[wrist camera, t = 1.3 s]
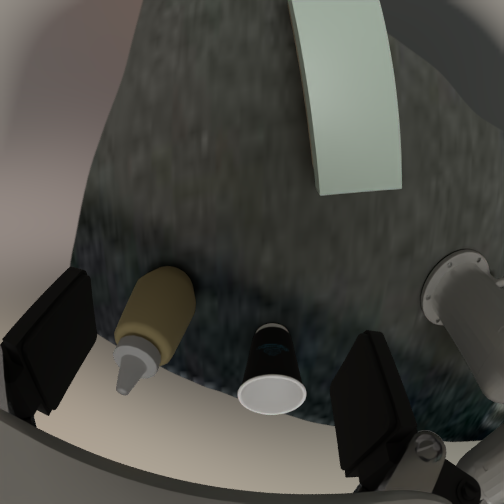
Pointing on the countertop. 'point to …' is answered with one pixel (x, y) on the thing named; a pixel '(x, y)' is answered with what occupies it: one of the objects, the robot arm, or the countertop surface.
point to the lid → (348, 95)
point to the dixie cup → (272, 373)
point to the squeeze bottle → (152, 324)
